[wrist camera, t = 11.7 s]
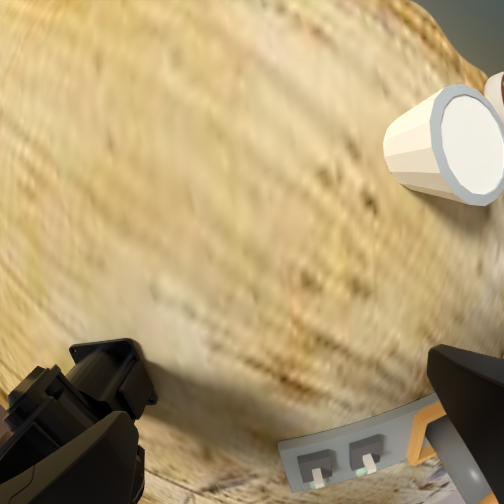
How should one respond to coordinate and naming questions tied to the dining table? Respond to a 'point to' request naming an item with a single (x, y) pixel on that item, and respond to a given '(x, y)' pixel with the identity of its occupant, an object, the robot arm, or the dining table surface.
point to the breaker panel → (361, 446)
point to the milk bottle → (496, 93)
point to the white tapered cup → (449, 147)
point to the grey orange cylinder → (459, 462)
